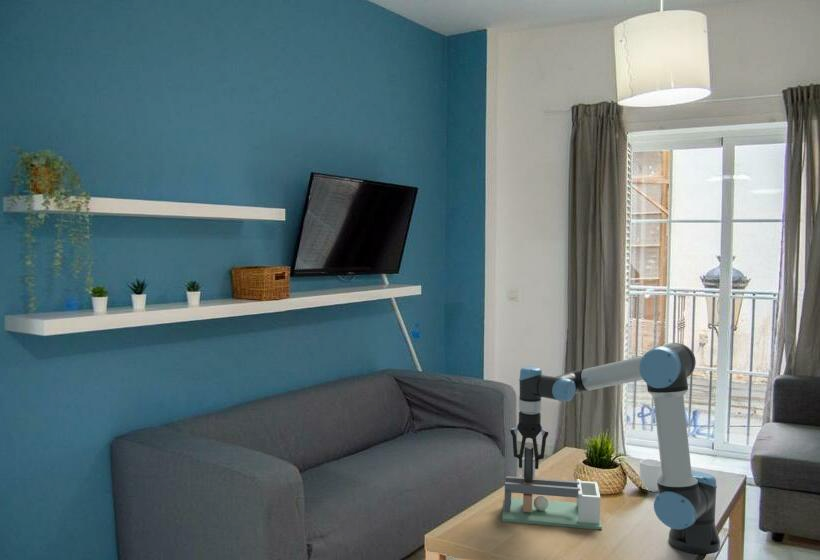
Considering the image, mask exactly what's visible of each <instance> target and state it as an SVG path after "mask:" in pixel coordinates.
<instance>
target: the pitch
mask: <svg viewBox="0 0 820 560" xmlns="http://www.w3.org/2000/svg"><path fill="white" fill-rule="evenodd" d="M512 494H522V495H523V494H532V495H535V496H536V495H537V496H550V497H565V498H575V499H576V502H574V501H573V502H572V501H571V502H570V501H560V500H559V501H557V500H548V499H547V501H548V507H547V509H546V510H544V511H539V510H537V509H536V508H535V506H534V500H535V498H532V512H523V498H520V497H512ZM600 494H601V493H600V488H599V484H598V482H597V481H588V480H587V481H585V480H581V478H580V479H579V478H577V479H576V480H564V479H561V480H560V479H549V478H548V479H547V478H539V477H538V478H536V477H535V479H533V484H524V478H522V476H521V477H520V476H510V475H508V476H505V482H504V501H503V508H502V514H501V515H502V516H501V522H504V523H505V522H506V523H516V524H517V523H518V524H527V525H528V524H529V525H541V526H550V527H562V526H563V527H564V528H575V529H576V528H578V529H588V530H598V529H602V530H603V525H602V522H601V521H602V520H601V495H600Z"/></svg>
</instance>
